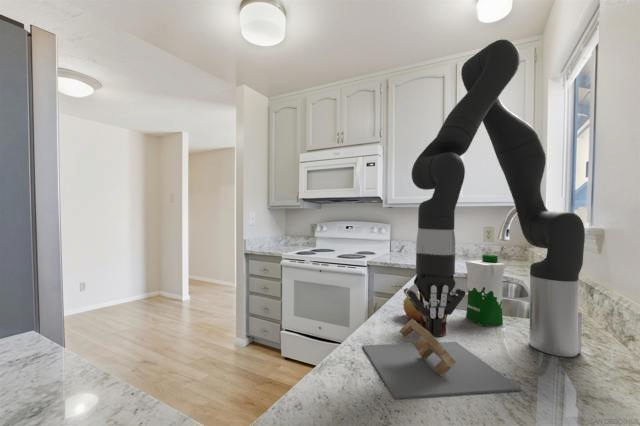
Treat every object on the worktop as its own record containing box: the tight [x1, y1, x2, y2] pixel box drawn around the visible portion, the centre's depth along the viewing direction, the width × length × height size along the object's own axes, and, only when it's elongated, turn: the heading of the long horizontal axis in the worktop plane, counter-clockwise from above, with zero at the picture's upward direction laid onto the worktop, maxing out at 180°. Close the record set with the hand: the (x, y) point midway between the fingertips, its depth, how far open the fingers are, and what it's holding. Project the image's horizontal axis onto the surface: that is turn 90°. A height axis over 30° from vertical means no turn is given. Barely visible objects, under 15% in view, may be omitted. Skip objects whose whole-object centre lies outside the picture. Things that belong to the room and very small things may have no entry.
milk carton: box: [464, 254, 506, 327], centre depth 90 cm, size 9×9×20 cm
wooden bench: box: [398, 318, 456, 377], centre depth 61 cm, size 4×8×8 cm
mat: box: [362, 341, 522, 400], centre depth 62 cm, size 24×20×1 cm
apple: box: [403, 293, 421, 323], centre depth 90 cm, size 10×10×8 cm
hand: (433, 334), depth 61 cm, fingers closed
